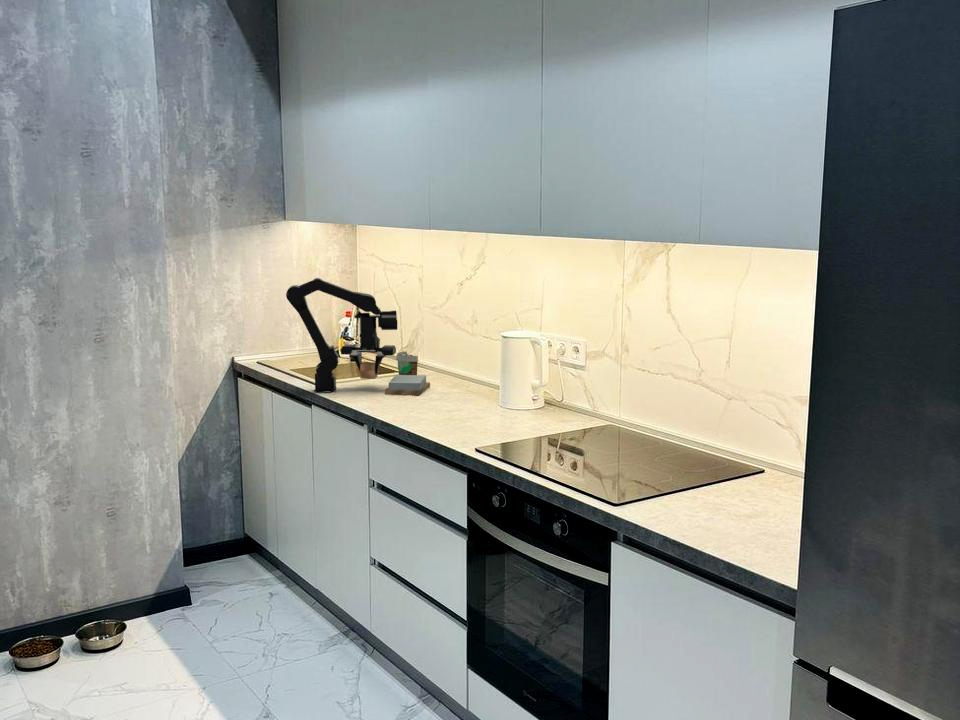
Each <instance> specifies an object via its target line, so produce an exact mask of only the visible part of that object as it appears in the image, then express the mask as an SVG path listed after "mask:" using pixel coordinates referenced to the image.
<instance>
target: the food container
mask: <svg viewBox="0 0 960 720" xmlns="http://www.w3.org/2000/svg"><path fill="white" fill-rule="evenodd" d="M395 360H396V361H397V367H398V368H397V369H398V370H397V372H398V373H397V374H398V375H418V363H419V356H418V355H413V354H408V351H400V352H396V357H395Z"/></svg>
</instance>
